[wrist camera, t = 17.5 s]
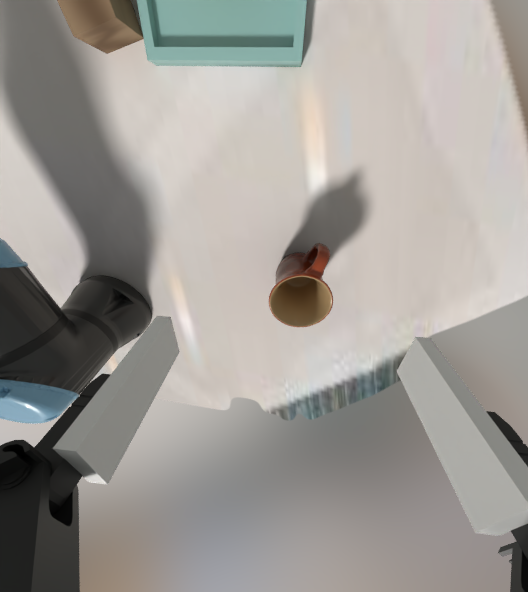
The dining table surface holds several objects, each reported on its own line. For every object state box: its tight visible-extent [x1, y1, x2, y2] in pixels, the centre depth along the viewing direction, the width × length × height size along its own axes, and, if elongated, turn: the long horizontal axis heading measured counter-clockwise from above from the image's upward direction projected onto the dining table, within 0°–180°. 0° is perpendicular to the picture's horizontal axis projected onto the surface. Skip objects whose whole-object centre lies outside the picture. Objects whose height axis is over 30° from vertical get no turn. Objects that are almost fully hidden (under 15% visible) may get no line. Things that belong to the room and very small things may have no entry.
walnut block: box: [57, 0, 144, 54], centre depth 23 cm, size 5×5×5 cm
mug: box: [269, 243, 333, 327], centre depth 34 cm, size 12×9×10 cm
